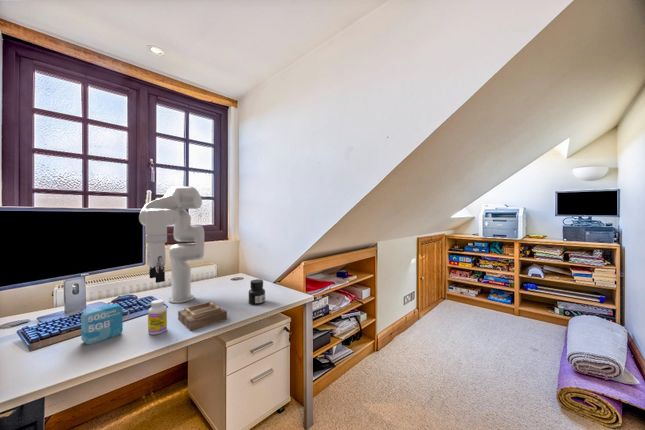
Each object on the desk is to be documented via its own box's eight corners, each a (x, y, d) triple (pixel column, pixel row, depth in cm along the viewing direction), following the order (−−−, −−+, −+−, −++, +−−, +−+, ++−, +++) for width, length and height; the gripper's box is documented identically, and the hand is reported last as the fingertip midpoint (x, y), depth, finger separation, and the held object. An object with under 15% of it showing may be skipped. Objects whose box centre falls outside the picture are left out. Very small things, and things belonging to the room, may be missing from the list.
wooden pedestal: (178, 319, 124) (178, 307, 123) (212, 310, 135) (212, 299, 135) (190, 330, 112) (190, 317, 112) (226, 319, 124) (226, 307, 123)
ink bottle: (259, 306, 140) (258, 284, 140) (244, 304, 143) (244, 282, 143) (268, 300, 149) (268, 279, 149) (254, 298, 152) (254, 278, 152)
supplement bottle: (147, 336, 107) (146, 305, 107) (149, 330, 113) (148, 300, 113) (166, 333, 110) (166, 302, 110) (167, 326, 116) (167, 297, 116)
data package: (85, 346, 100) (84, 314, 99) (81, 342, 102) (80, 311, 102) (122, 333, 110) (122, 304, 109) (118, 330, 112) (118, 302, 112)
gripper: (141, 238, 114) (141, 277, 114) (151, 241, 102) (151, 285, 102) (161, 236, 119) (161, 274, 120) (173, 239, 107) (173, 282, 107)
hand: (157, 279), depth 111 cm, fingers open, 9 cm apart
